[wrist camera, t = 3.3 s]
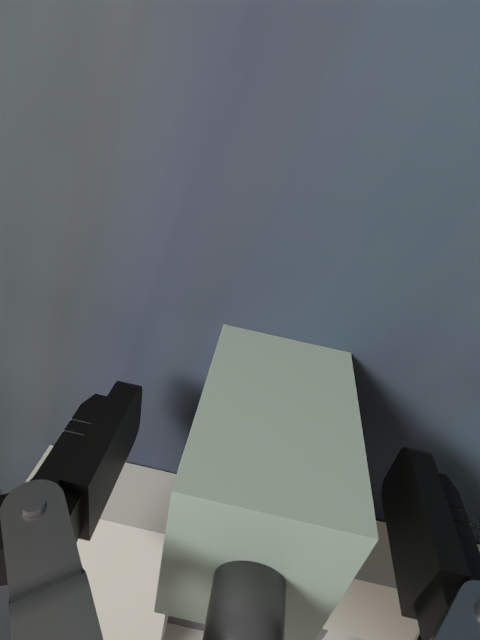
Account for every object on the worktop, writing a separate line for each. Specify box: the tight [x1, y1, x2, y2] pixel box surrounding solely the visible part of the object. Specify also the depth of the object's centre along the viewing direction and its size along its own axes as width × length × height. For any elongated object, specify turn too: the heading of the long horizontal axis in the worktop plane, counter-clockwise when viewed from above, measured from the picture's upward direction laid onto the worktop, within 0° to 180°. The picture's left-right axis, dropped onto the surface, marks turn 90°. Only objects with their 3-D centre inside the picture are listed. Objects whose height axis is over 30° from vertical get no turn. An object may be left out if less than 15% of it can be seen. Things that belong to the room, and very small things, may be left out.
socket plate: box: [25, 445, 480, 640], centre depth 20 cm, size 20×16×3 cm
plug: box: [154, 325, 379, 640], centre depth 11 cm, size 4×5×8 cm
